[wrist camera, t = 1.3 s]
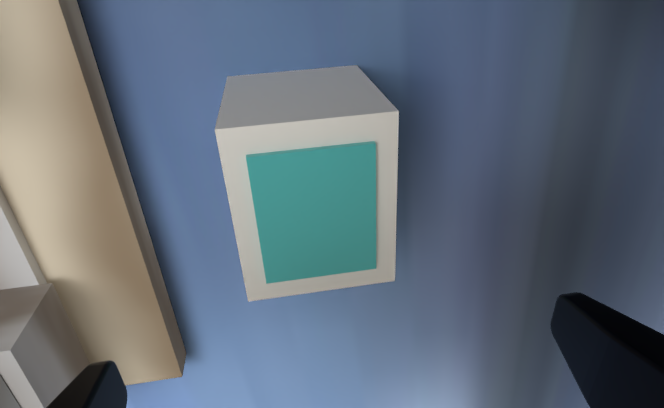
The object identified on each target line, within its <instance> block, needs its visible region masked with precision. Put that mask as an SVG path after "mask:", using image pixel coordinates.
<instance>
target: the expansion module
mask: <svg viewBox="0 0 664 408" xmlns="http://www.w3.org/2000/svg"><path fill="white" fill-rule="evenodd" d="M398 126H399V111H398V110H397V109H396V107H395V106H394V105H393V104H392V103H391V102H390V101H389V100H388V99H387V98H386V97H385V95H384V94H383V93H382V92H381V91H380V90H379V89H378V88H377V87H376V86H375V85H374V83H373V82H372V81H371V80H370V79H369V78H368V77H367V76H366V75H365V74H364V73H363V71H362V70H361V69H360V68H359V67H358V66H357V65H352V66H341V67H329V68H318V69H307V70H295V71H284V72H273V73H261V74H250V75H238V76H227V80H226V85H225V89H224V93H223V97H222V101H221V106H220V110H219V114H218V118H217V122H216V127H215V133H216V138H217V144H218V149H219V154H220V159H221V164H222V169H223V174H224V180H225V185H226V190H227V195H228V200H229V205H230V210H231V216H232V221H233V226H234V231H235V236H236V241H237V246H238V252H239V257H240V262H241V267H242V272H243V277H244V282H245V288H246V293H247V298H248V302H249V301H256V300H263V299H270V298H277V297H284V296H291V295H298V294H305V293H313V292H320V291H327V290H334V289H341V288H348V287H355V286H362V285H369V284H376V283H384V282H391V281H395V258H396V214H397V170H398Z"/></svg>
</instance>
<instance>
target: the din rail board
mask: <svg viewBox="0 0 664 408" xmlns="http://www.w3.org/2000/svg"><path fill="white" fill-rule="evenodd" d="M185 358H186V350H185V347H184V344H183V341H182V338H181V334H180V331H179V328H178V325H177V321H176V318H175V315H174V312H173V309H172V305H171V302H170V299H169V296H168V292H167V289H166V286H165V283H164V280H163V276H162V273H161V270H160V267H159V263H158V260H157V257H156V254H155V251H154V247H153V244H152V241H151V238H150V234H149V231H148V228H147V225H146V222H145V218H144V215H143V212H142V209H141V205H140V202H139V199H138V196H137V193H136V189H135V186H134V183H133V180H132V177H131V173H130V170H129V167H128V164H127V160H126V157H125V154H124V151H123V148H122V144H121V141H120V138H119V135H118V131H117V128H116V125H115V122H114V119H113V115H112V112H111V109H110V106H109V102H108V99H107V96H106V93H105V90H104V86H103V83H102V80H101V77H100V73H99V70H98V67H97V64H96V61H95V57H94V54H93V51H92V48H91V44H90V41H89V38H88V35H87V32H86V28H85V25H84V22H83V19H82V16H81V12H80V9H79V6H78V3H77V0H0V408H46V407H47V406H48V405H49V404H50V403H51V402H52V401H53V400H54V399H55V398H56V397H57V396H58V395H59V394H60V393H61V392H62V391H63V390H64V389H65V388H66V387H67V386H68V385H69V383H70V382H71V381H72V380H73V379H74V378H75V377H76V376H77V375H78V374H79V373H80V372H81V371H82V370H83V369H84V368H85V367H86V366H87V365H89V364H91V363H94V362H100V361H107V360H112V361H114V362H115V364H116V365H117V368H118V370H119V372H120V375H121V377H122V379H123V381H124V384H125V385H131V384H138V383H144V382H151V381H157V380H163V379H170V378H176V377H182V375H183V369H184V364H185Z"/></svg>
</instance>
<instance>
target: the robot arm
mask: <svg viewBox="0 0 664 408" xmlns="http://www.w3.org/2000/svg"><path fill="white" fill-rule="evenodd" d="M551 331H552V334H553V336H554V338H555V340H556V342H557V344H558V346H559V348H560V350H561V352H562V354H563V356H564V358H565V360H566V362H567V364H568V366H569V368H570V370H571V372H572V374H573V376H574V378H575V380H576V382H577V384H578V386H579V388H580V390H581V392H582V394H583V396H584V398H585V400H586V401H587V403H588V405H589V406H590V408H664V335H663V334H661V333H659V332H657V331H655V330H653V329H651V328H649V327H647V326H645V325H643V324H641V323H640V322H638V321H636V320H634V319H632V318H630V317H628V316H626V315H624V314H622V313H620V312H618V311H616V310H614V309H612V308H610V307H608V306H606V305H604V304H602V303H600V302H598V301H596V300H594V299H592V298H590V297H588V296H586V295H584V294H582V293H577V292H576V293H569V294H562V295H560V296H559V297H558V298H557V301H556V304H555V308H554V312H553V316H552V319H551ZM126 404H127V390H126V386H125V384H124V381H123V379H122V377H121V375H120V372H119V370H118V368H117V365H116V364H115V362H114V361H112V360H107V361H100V362H94V363H91V364H89V365H87V366H86V367H85V368H84V369H83V370H82V371H81V372H80V373H79V374H78V375H77V376H76V377H75V378H74V379H73V380H72V381H71V382H70V383H69V385H68V386H67V387H66V388H65V389H64V390H63V391H62V392H61V393H60V394H59V395H58V396H57V397H56V398H55V399H54V400H53V401H52V402H51V403H50V404H49V405H48V406H47V407H46V408H126Z"/></svg>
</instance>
